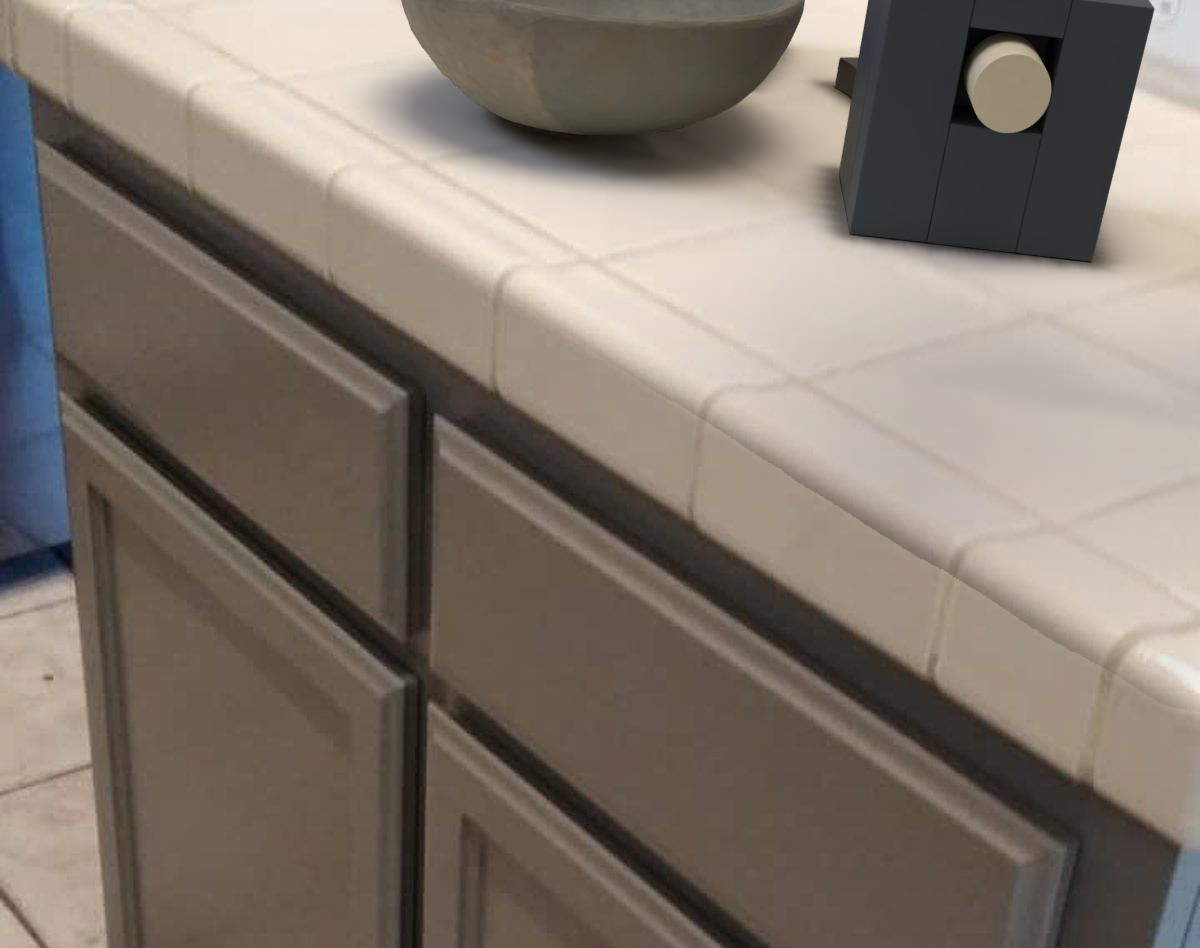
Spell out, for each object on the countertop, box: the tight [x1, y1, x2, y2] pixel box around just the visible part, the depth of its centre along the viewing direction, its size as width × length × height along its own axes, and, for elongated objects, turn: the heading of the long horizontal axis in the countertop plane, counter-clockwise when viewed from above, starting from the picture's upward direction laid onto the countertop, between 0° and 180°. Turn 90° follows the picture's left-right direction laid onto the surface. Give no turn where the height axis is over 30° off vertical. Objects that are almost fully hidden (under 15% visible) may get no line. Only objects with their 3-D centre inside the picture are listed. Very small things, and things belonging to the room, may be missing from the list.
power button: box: [964, 33, 1051, 133], centre depth 95 cm, size 4×4×4 cm
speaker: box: [838, 0, 1156, 262], centre depth 100 cm, size 10×12×13 cm
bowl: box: [400, 0, 806, 136], centre depth 108 cm, size 21×21×8 cm
